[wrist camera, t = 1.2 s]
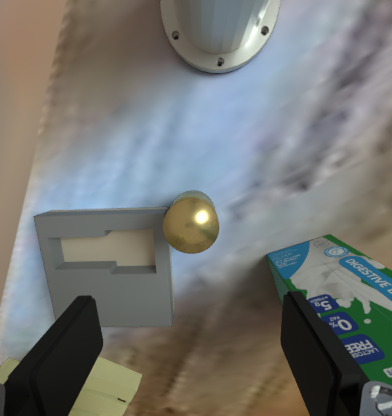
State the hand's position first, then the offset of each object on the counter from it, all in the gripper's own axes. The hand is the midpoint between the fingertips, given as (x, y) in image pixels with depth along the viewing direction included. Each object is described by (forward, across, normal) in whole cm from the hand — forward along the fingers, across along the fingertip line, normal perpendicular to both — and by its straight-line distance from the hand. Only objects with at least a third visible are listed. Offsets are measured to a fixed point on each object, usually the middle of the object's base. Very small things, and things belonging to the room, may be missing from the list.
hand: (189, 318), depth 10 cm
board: (+19, +12, +7) cm, 23 cm away
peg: (+19, 0, -1) cm, 19 cm away
